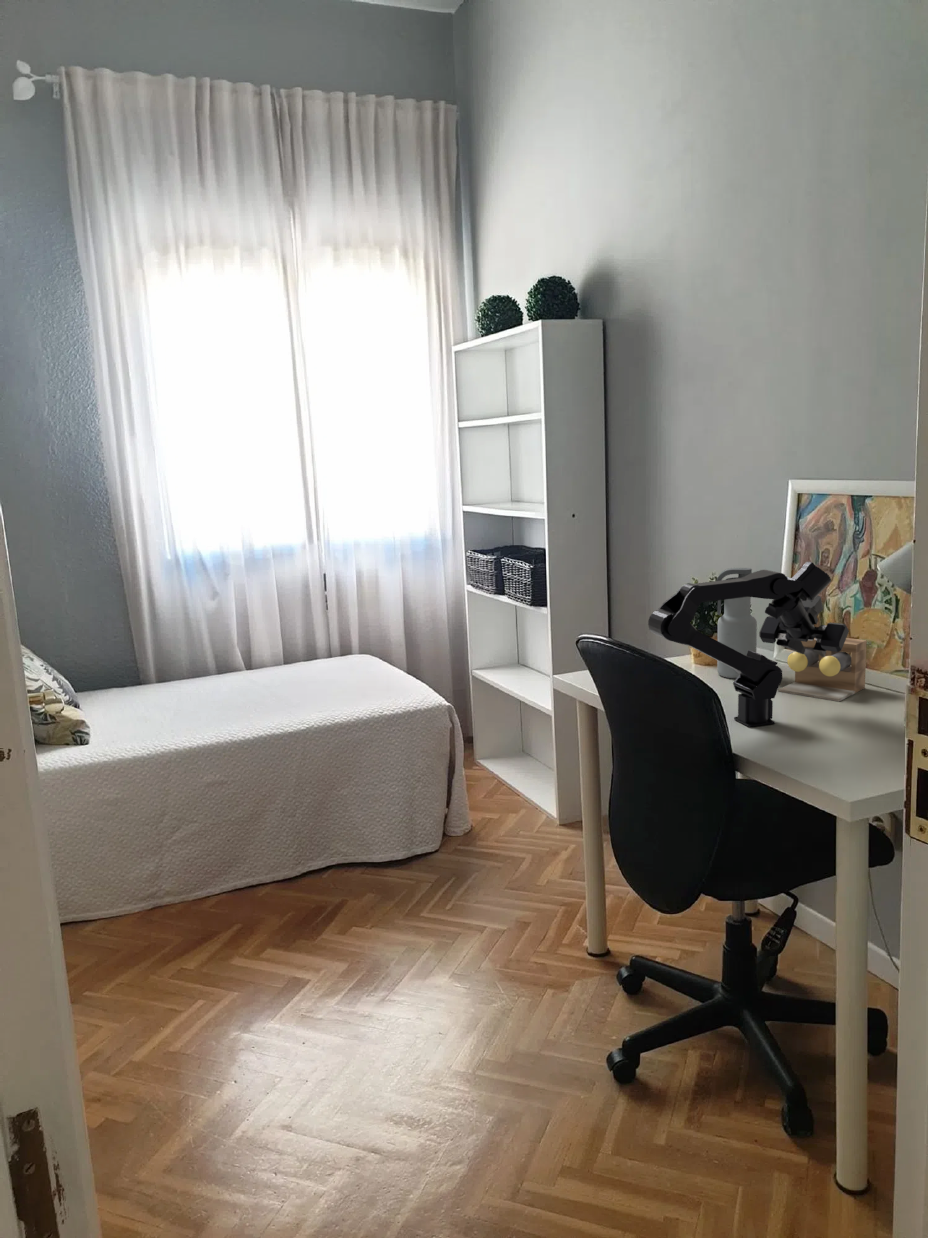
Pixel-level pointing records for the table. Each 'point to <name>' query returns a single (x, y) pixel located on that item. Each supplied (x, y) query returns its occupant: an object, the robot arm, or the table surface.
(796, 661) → the knob left
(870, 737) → the table surface
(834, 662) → the knob right
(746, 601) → the water bottle
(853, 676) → the console
